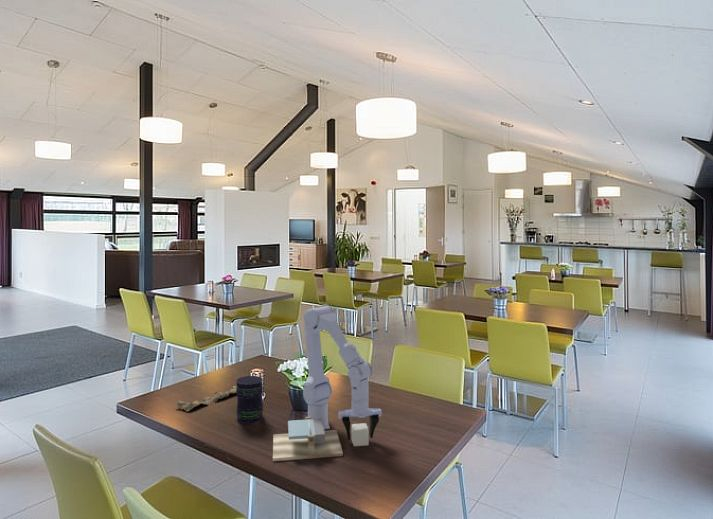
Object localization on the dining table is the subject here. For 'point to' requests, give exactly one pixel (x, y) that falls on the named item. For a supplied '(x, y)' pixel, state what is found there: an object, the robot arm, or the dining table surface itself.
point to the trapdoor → (306, 429)
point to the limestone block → (360, 434)
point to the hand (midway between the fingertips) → (359, 437)
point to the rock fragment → (209, 400)
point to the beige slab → (305, 447)
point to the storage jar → (249, 399)
